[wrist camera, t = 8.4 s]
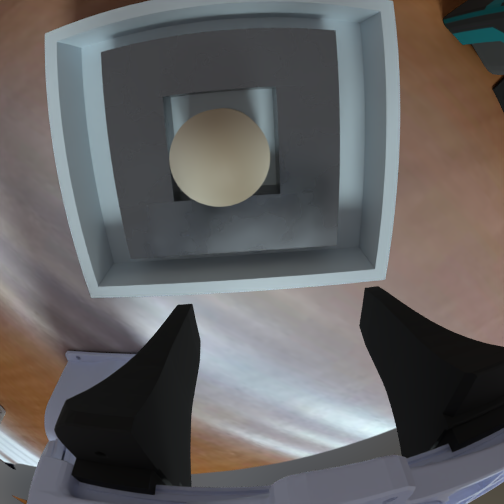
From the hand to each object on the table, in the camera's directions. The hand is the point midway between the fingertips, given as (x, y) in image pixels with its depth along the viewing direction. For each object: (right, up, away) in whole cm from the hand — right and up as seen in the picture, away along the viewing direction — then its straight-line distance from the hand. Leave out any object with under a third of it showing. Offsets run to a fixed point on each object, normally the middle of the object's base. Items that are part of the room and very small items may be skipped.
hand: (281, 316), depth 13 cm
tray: (-3, +9, +5) cm, 11 cm away
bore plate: (-3, +9, +5) cm, 11 cm away
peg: (-3, +9, +4) cm, 10 cm away
